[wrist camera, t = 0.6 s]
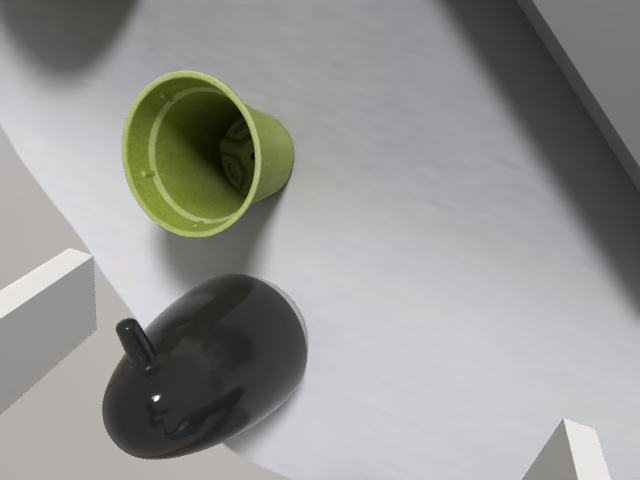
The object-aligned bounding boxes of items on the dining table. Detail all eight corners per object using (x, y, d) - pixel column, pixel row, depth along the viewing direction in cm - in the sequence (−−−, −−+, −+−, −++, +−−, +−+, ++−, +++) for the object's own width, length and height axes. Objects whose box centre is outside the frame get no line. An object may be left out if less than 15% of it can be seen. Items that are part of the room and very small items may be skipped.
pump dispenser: (322, 261, 34) (194, 339, 20) (329, 393, 36) (215, 547, 22) (206, 257, 38) (31, 319, 24) (217, 376, 40) (60, 498, 26)
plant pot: (275, 61, 33) (202, 34, 25) (341, 177, 33) (288, 187, 25) (185, 134, 37) (97, 130, 29) (243, 239, 37) (171, 264, 29)
